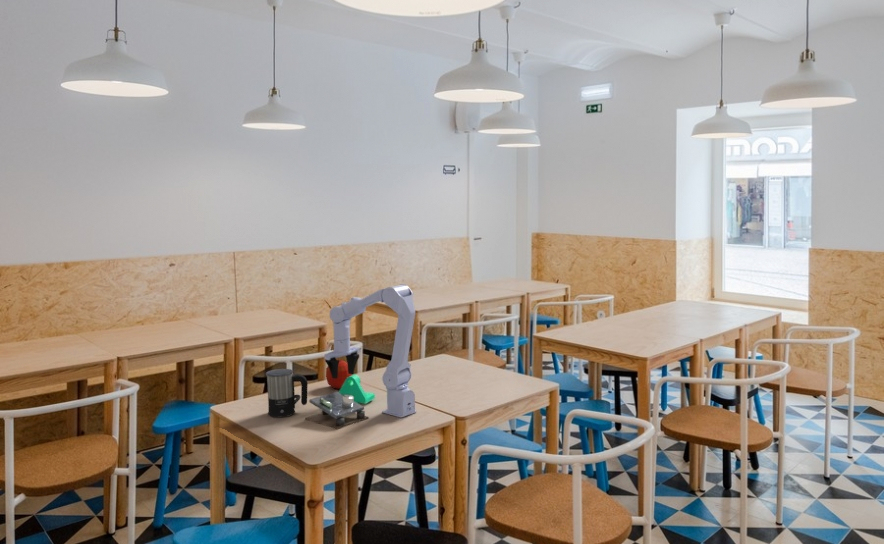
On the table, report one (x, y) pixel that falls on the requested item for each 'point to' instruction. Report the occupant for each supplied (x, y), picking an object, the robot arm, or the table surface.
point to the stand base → (333, 420)
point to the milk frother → (284, 392)
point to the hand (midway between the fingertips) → (343, 376)
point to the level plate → (337, 404)
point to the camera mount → (356, 390)
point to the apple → (341, 375)
